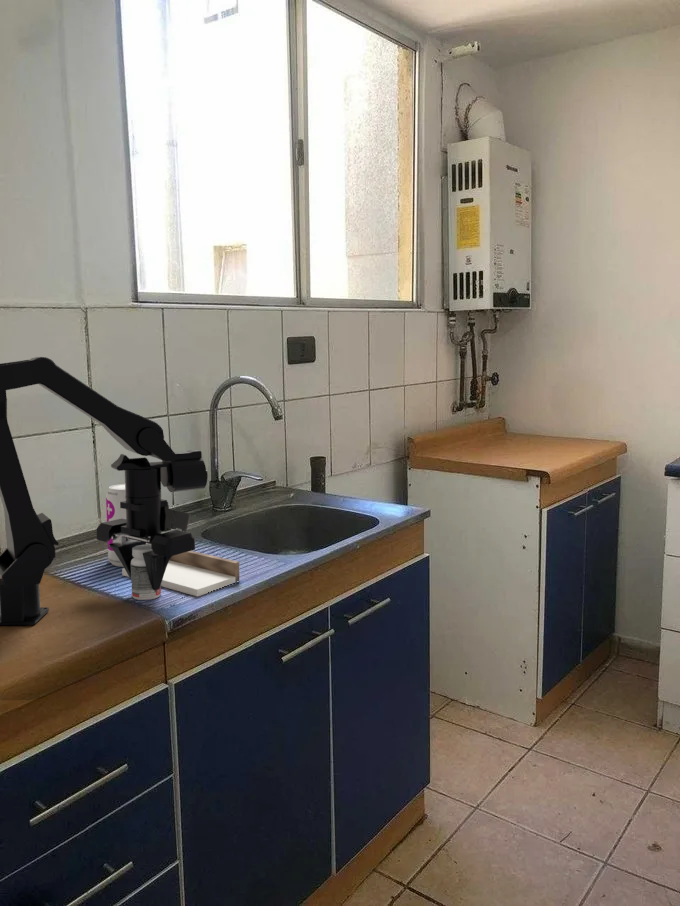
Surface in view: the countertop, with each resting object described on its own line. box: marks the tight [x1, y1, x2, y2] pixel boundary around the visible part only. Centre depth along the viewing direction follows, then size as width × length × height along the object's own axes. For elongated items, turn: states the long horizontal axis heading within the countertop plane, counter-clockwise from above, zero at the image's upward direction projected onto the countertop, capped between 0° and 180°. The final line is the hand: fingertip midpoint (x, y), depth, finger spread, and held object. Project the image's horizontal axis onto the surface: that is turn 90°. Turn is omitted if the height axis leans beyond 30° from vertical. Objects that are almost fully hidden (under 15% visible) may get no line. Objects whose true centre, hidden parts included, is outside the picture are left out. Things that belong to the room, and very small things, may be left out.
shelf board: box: [121, 550, 240, 597], centre depth 131 cm, size 20×10×4 cm, turn 54°
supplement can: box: [105, 483, 151, 568], centre depth 141 cm, size 8×8×15 cm
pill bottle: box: [130, 545, 162, 601], centre depth 121 cm, size 5×5×8 cm
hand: (146, 586), depth 122 cm, fingers closed on pill bottle, 5 cm apart
